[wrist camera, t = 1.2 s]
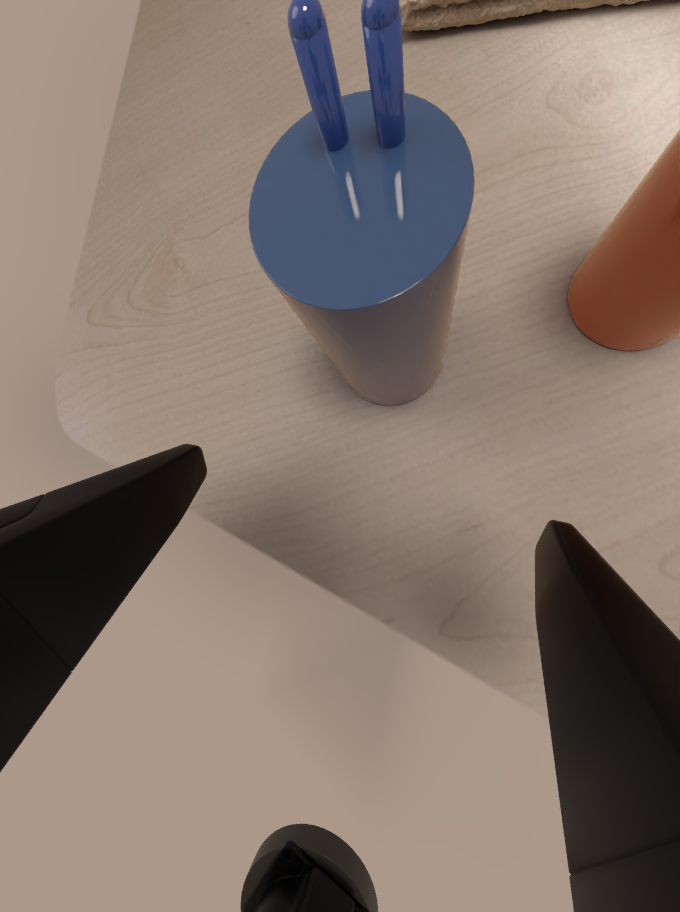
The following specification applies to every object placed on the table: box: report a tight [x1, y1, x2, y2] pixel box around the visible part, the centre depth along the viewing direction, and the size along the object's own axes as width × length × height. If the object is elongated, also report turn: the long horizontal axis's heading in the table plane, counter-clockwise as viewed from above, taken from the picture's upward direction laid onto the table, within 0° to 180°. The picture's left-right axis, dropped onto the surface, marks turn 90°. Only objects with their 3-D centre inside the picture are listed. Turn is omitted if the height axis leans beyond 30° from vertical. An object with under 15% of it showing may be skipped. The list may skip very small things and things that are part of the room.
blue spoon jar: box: [249, 0, 474, 406], centre depth 15 cm, size 6×6×16 cm
